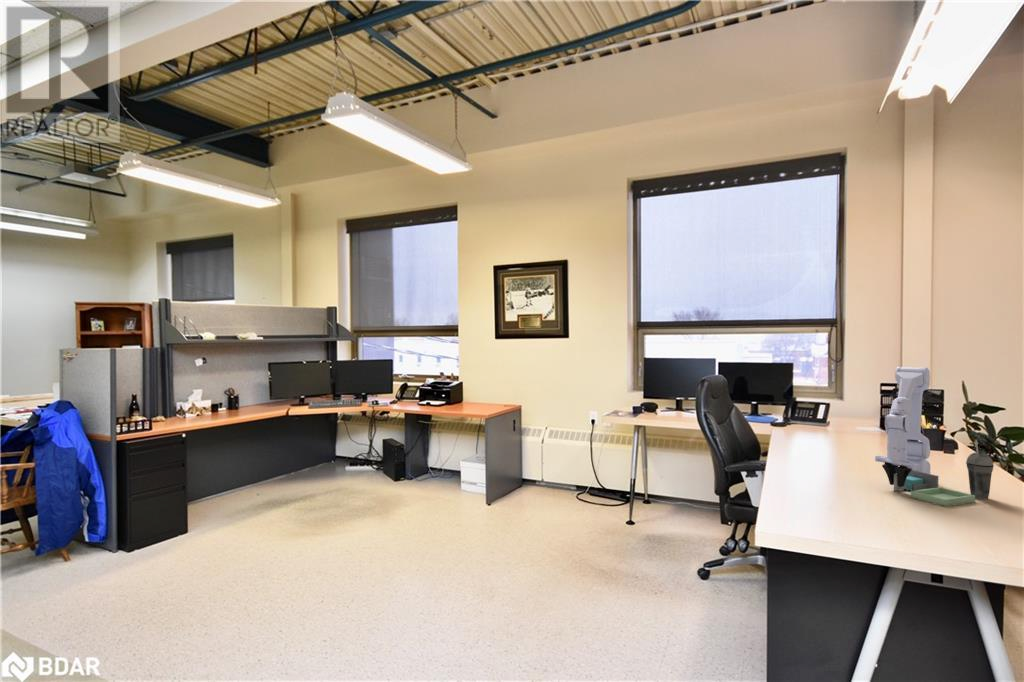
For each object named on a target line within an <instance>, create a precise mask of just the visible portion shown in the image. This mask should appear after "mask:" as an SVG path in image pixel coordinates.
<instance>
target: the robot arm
mask: <svg viewBox="0 0 1024 682" xmlns="http://www.w3.org/2000/svg"><path fill="white" fill-rule="evenodd" d="M930 373H931V372H930V369H929V368H928V367H926V366H925V367H914V366H913V367H911V366H897V367H896V369H895V372H894V378H895V381H896V383H897V385H899V386H898V392H897V393H898V394H897V397H896V398H894V399H893V400H892V404H891V408H890V410H889V412H888V413H889V414H886V415H885V417H884V427H885V435H886V436H887V438H886V441H887V442H886V443H887V444H886V445H887V446H886V447H887V448H886V450H887V452H886V453H887V454H886V456H883V455H875V456H874V461H875V462H877V463H878V462H879V463H884V464H882V465H881V467H882V469H883V470H884V471H885V473H886V476H887V479H888V482H889V485H890V486H891V485H892V486H894V474H897V484H898V487H904V483H905V480H906V478H907V476H908V474H909V473H910V472H911V470H914V471H918V472H923V473H927V474H931V464H930V462H929V461H928V459H929V458H930V456H931V445H930V439H929V438H928V437H927V436H925V435H924V434H923V433H921V431H922V412H923V411H922V410H923V394H924V392H925V391H926V390H929V389H930V388H929V387H930V385H931V384H930V383H931V382H930V381H931V374H930Z"/></svg>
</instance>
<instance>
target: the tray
mask: <svg viewBox="0 0 1024 682" xmlns="http://www.w3.org/2000/svg"><path fill="white" fill-rule="evenodd" d="M911 497H912V498H911ZM910 498H911V499H915V498H916V500H918V499H920V500H919V501H922V500H923V502H926V501H927V502H926V503H930V502H931V503H930V504H933V503H935V504H934V505H937V504H938V506H941V505H942V507H944V506H946V507H950V506H951V507H952V506H958V504H959V505H964V504H965V503H966V504H971V503H976V498H975V495H971V493H966V492H962V491H957V490H954V489H950V488H946V487H940V486H938V488H930V489H923V490H915V491H910Z"/></svg>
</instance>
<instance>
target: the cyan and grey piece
mask: <svg viewBox="0 0 1024 682" xmlns="http://www.w3.org/2000/svg"><path fill="white" fill-rule="evenodd" d="M917 484H923V479H921V478H917V477H913V476H907V478H906V480H905V483H904V487H898V484H897V473H896V474H894V485H893V491H894V490H895V491H894V492H898V491H899V492H900V491H901V490H904V489H906V490H905V491H908V490H910V491H909V492H911V491H913V485H917Z"/></svg>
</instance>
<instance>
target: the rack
mask: <svg viewBox="0 0 1024 682" xmlns="http://www.w3.org/2000/svg"><path fill="white" fill-rule="evenodd" d="M908 476H913V477H917V478H921V479H923V484H917V485H913V491H915V490H923V489H930V488H938V487H939V475H935V474H931V473H930V474H927V473H923V472H918V471H914V470H911V472H910V473H909V474H908Z"/></svg>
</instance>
